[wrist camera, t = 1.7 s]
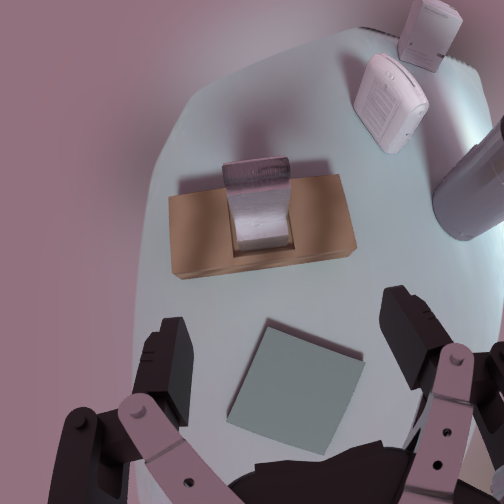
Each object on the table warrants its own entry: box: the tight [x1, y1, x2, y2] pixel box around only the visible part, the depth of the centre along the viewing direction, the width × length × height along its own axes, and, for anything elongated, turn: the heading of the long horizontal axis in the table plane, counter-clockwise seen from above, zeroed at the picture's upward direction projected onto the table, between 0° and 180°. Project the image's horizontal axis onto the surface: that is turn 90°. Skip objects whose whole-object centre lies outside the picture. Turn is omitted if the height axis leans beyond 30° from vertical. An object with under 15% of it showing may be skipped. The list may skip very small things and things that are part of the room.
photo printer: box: [353, 53, 429, 154], centre depth 35 cm, size 10×4×12 cm, turn 23°
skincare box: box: [397, 0, 463, 72], centre depth 39 cm, size 8×6×15 cm
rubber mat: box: [226, 327, 365, 455], centre depth 32 cm, size 12×12×1 cm
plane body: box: [169, 174, 357, 280], centre depth 36 cm, size 20×9×4 cm, turn 97°
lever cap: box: [222, 155, 291, 252], centre depth 29 cm, size 5×6×12 cm
